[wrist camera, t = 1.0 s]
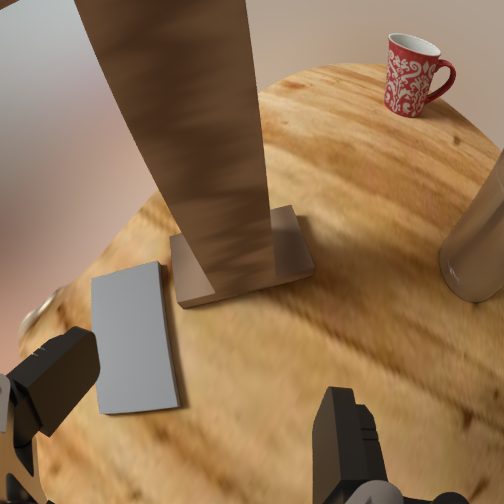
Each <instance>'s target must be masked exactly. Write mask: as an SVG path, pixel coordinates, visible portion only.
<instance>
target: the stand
mask: <svg viewBox="0 0 504 504" xmlns="http://www.w3.org/2000/svg"><path fill="white" fill-rule="evenodd" d="M17 1H19V0H0V10H1V9H3V8H5V7H7V6H9V5H11V4H12V3H15V2H17ZM74 1H75V4H76V7H77V10H78V12H79V15H80V17H81V20H82V23H83V25H84V28H85V30H86V32H87V35H88V38H89V40H90V42H91V45H92V47H93V50H94V52H95V55H96V57H97V59H98V62H99V64H100V66H101V68H102V71H103V73H104V75H105V78H106V80H107V82H108V84H109V87H110V89H111V91H112V93H113V96H114V98H115V100H116V102H117V104H118V107H119V109H120V111H121V113H122V115H123V117H124V120H125V122H126V124H127V126H128V128H129V130H130V132H131V134H132V136H133V138H134V140H135V142H136V145H137V146H138V149H139V151H140V153H141V155H142V157H143V159H144V161H145V163H146V165H147V167H148V169H149V171H150V173H151V175H152V177H153V179H154V181H155V183H156V185H157V187H158V189H159V191H160V192H161V194H162V196H163V198H164V200H165V202H166V204H167V206H168V208H169V210H170V212H171V213H172V215H173V217H174V219H175V221H176V223H177V225H178V227H179V228H180V230H181V232H182V233H180V234H177V235H173V236H170V237H169V238H170V248H171V257H172V266H173V275H174V283H175V291H176V298H177V303H178V304H179V305H180V306H181V307H182V308H183V309H186V308H190V307H194V306H199V305H203V304H207V303H211V302H215V301H219V300H223V299H227V298H231V297H235V296H239V295H243V294H247V293H250V292H254V291H258V290H262V289H266V288H269V287H273V286H277V285H281V284H284V283H288V282H292V281H295V280H299V279H303V278H306V277H310V276H313V275H314V271H315V265H314V262H313V259H312V257H311V254H310V251H309V249H308V246H307V244H306V241H305V238H304V236H303V233H302V231H301V228H300V226H299V223H298V220H297V218H296V215H295V213H294V210H293V208H292V205H288V206H284V207H280V208H276V209H272V210H270V206H269V196H268V186H267V176H266V166H265V157H264V148H263V138H262V129H261V121H260V112H259V103H258V95H257V86H256V78H255V70H254V62H253V54H252V47H251V40H250V31H249V24H248V17H247V10H246V2H245V0H74Z"/></svg>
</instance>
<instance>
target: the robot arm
mask: <svg viewBox="0 0 504 504" xmlns="http://www.w3.org/2000/svg"><path fill="white" fill-rule="evenodd" d="M439 263H440V268H441V272H442V274H443V277H444V279H445V281H446V283H447V284H448V286H449V287H450V288H451V290H452V291H453V292H454V293H455V294H456V295H458V296H459V297H460V298H462V299H464V300H466V301H469V302H475V303H478V302H482V301H485V300H486V299H488V298H489V297H491V296H492V295H493V294H495V293H496V292H497V291H499V290H500V289H501V288H502V287H504V149H503V151H502V153H501V155H500V156H499V158H498V160H497V162H496V164H495V165H494V167H493V169H492V171H491V172H490V174H489V176H488V177H487V179H486V181H485V182H484V184H483V186H482V187H481V189H480V190H479V192H478V193H477V195H476V197H475V198H474V200H473V201H472V203H471V204H470V206H469V207H468V209H467V210H466V212H465V213H464V215H463V216H462V218H461V219H460V220H459V222H458V223H457V225H456V226H455V227H454V229H453V230H452V232H451V233H450V234H449V236H448V237H447V238H446V240H445V241H444V242H443V244H442V247H441V249H440V254H439ZM100 369H101V366H100V360H99V354H98V347H97V340H96V336H95V334H94V333H93V332H91V331H88V330H86V329H83V328H80V327H78V326H74V327H72V328H71V329H70V330H68V331H67V332H66V333H65V334H63V335H59V336H57V337H54V338H52V339H49V340H48V341H47V342H46V343H44V344H43V345H42V346H41V347H40V349H39V348H38V349H37V350H36V351H35V352H33V355H32V354H31V355H30V356H29V357H27V358H26V359H25V360H24V361H23V362H21V363H20V364H19V365H18V366H17V367H15V368H14V369H13V370H12V371H11V372H10V373H8V374H7V375H6V376H5V375H3V374H0V504H55V503H53V502H51V501H50V500H48V501H47V499H46V496H45V494H44V491H43V489H42V487H41V484H40V478H39V468H38V456H37V440H36V437H35V434H36V433H37V432H38V431H40V432H41V433H43V434H44V435H46V436H48V437H49V438H50V436H51V435H52V434H53V433H54V432H55V430H56V429H57V428H58V427H59V425H60V424H61V423H62V422H63V421H64V419H65V418H66V417H67V416H68V414H69V413H70V412H71V411H72V410H73V408H74V407H75V406H76V405H77V404H78V402H79V401H80V400H81V399H82V398H83V397H84V395H85V394H86V393H87V392H88V391H89V389H90V388H91V387H92V386H93V385H94V384H95V382H96V381H97V380H98V377H99V375H100ZM378 439H379V438H378V434H377V431H376V425H375V421H374V417H373V415H372V414H371V413H370V411H369V410H368V409H367V407H366V406H365V405H360V404H356V403H355V398H354V393H353V390H352V389H351V388H341V387H330V386H329V387H328V388H327V390H326V392H325V395H324V398H323V400H322V403H321V405H320V408H319V410H318V412H317V415H316V417H315V420H314V424H313V431H312V449H313V504H469V502H468V501H467V500H466V498H465V497H463V496H462V495H460V494H458V493H455V492H446V493H443V494H441V495H439V496H437V497H436V498H435V499H434V500H433V501H426V500H419V499H413V498H408V497H405V496H402V494H401V492H400V490H399V489H398V488H397V487H396V486H394V485H393V484H391V483H389V482H388V479H387V474H386V469H385V465H384V460H383V455H382V451H381V446H380V442H379V441H378Z"/></svg>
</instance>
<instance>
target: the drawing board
mask: <svg viewBox="0 0 504 504" xmlns="http://www.w3.org/2000/svg"><path fill="white" fill-rule="evenodd" d="M91 317H92V332H93V333H94V334H95V336H96V340H97V347H98V354H99V360H100V366H101V369H100V375H99V377H98V380H97V381H96V390H97V398H98V405H99V412H100V414H118V413H131V412H141V411H151V410H159V409H167V408H175V407H181V403H180V398H179V393H178V388H177V382H176V377H175V371H174V365H173V359H172V353H171V347H170V340H169V333H168V326H167V318H166V311H165V302H164V294H163V285H162V275H161V264H160V263H159V262H158V261H154V262H150V263H146V264H143V265H139V266H135V267H132V268H128V269H125V270H121V271H117V272H114V273H110V274H107V275H103V276H99V277H96V278H92V283H91Z"/></svg>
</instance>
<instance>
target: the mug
mask: <svg viewBox="0 0 504 504" xmlns="http://www.w3.org/2000/svg"><path fill="white" fill-rule="evenodd" d="M388 39H389V52H388V65H387V77H386V88H385V97H384V103H385V105H386V106H387V107H388V108H389V109H390V110H391V111H393V112H394V113H396V114H399V115H402V116H405V117H417V116H419V115H420V114H421V112H422V109H423V106H424V105H425V104H427V103H429V102H431V101H433V100H435V99H436V98H438V97H440V96H441V95H442V94H444V93H445V92H446V91H447V90H448V89H450V87H451V86H452V85H453V83H454V80H455V77H456V71H455V69H454V67H453V66H452V64H451V63H450V62H448V61H446V60H438V58H439V56H440V55H441V52H440V50H439V49H438V48H437V47H436V46H434V45H433V44H431V43H429V42H427V41H425V40H423V39H420V38H417V37H414V36H410V35H405V34H397V33H395V34H390V35H389V36H388ZM443 66H447V67H449V68H450V77H449V79H448V81H447V82H446V83H445V84H444V85H443V86H442V87H441V88H439V89H438V90H436V91H435V92H433V93H431V94H429V95H427V94H428V91H429V87H430V84H431V81H432V78H433V75H434V73H435V72H437V71H438V69H439V68H441V67H443Z"/></svg>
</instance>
